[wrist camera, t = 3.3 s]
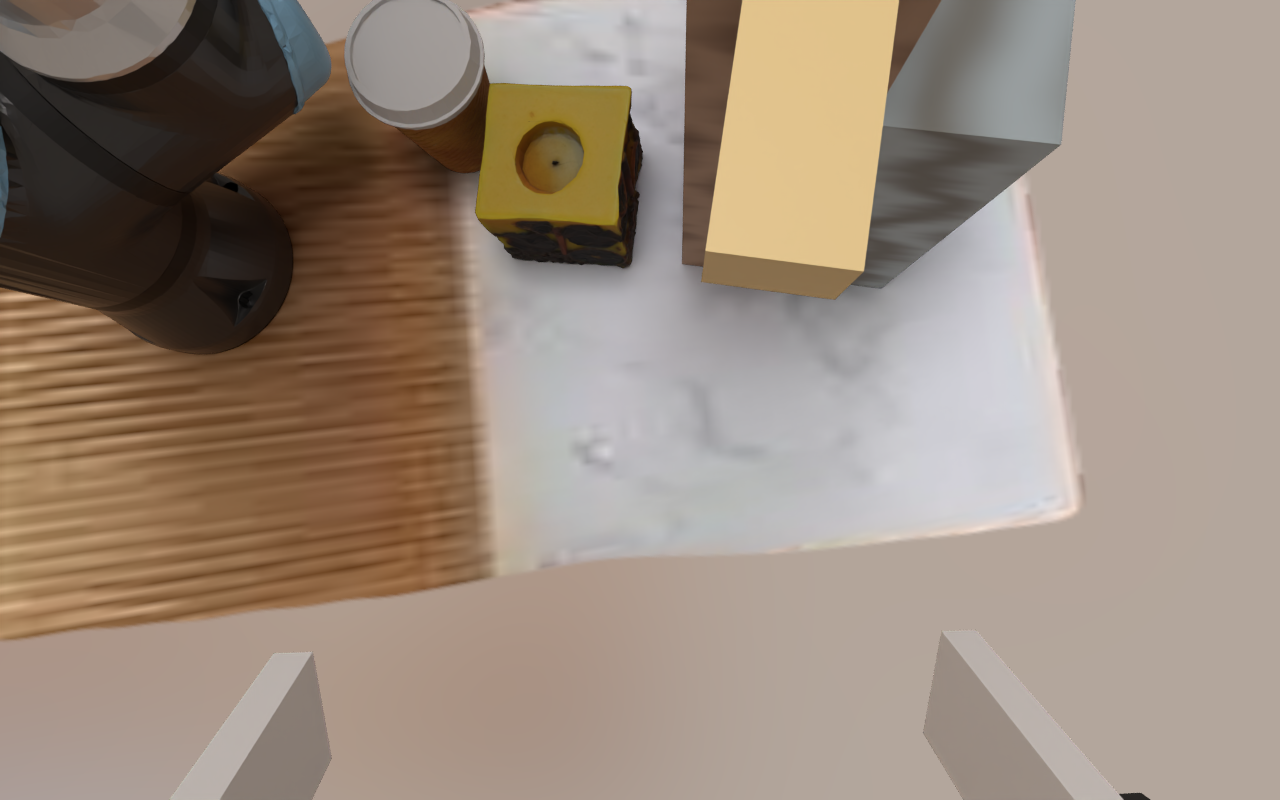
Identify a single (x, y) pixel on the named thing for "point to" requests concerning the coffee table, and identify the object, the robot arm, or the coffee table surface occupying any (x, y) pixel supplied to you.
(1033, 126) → the stepped stand
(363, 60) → the disposable coffee cup
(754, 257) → the ochre batten
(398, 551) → the coffee table surface
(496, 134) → the candle
